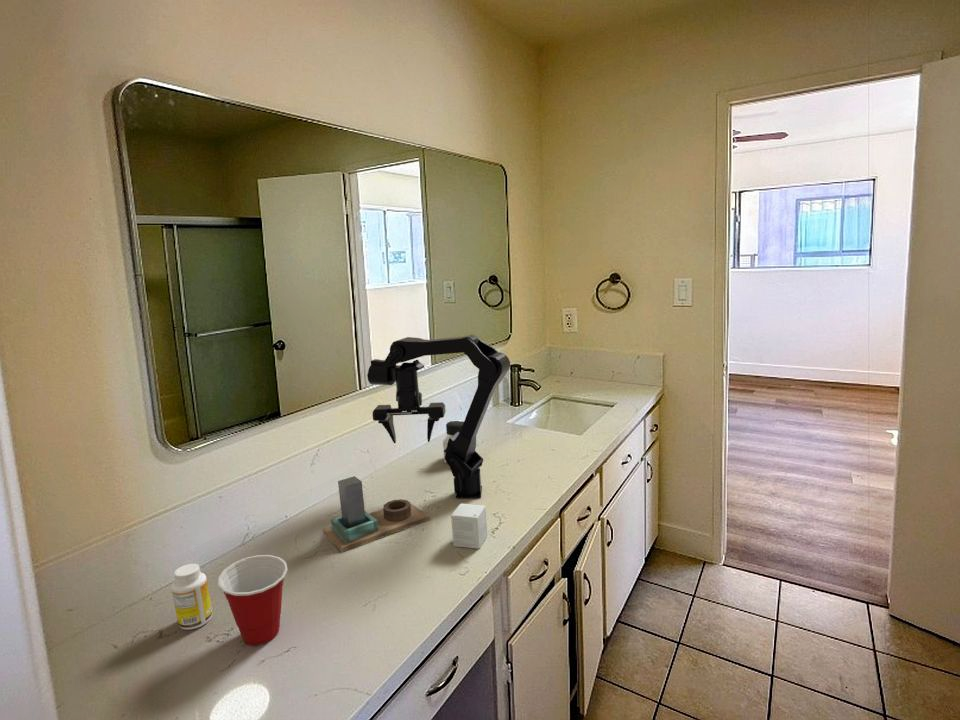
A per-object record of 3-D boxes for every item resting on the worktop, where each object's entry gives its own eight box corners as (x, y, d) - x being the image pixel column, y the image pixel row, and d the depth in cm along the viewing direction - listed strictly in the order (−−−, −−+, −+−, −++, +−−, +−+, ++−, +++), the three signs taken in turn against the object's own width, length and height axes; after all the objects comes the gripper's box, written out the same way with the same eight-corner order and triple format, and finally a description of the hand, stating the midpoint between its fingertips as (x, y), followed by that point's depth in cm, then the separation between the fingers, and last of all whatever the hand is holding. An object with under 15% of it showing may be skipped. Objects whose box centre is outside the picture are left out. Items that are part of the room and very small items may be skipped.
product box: (488, 535, 124) (486, 505, 122) (479, 550, 118) (477, 518, 117) (462, 532, 126) (460, 502, 124) (452, 546, 120) (450, 515, 119)
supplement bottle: (204, 607, 103) (196, 557, 102) (218, 618, 100) (210, 567, 98) (173, 623, 99) (163, 571, 97) (186, 636, 96) (176, 582, 94)
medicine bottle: (467, 463, 167) (464, 425, 164) (444, 463, 168) (441, 425, 166) (472, 455, 174) (469, 418, 171) (449, 454, 175) (447, 418, 173)
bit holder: (407, 504, 142) (406, 491, 141) (429, 519, 133) (428, 505, 132) (323, 533, 129) (322, 519, 128) (342, 552, 120) (340, 537, 120)
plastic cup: (255, 666, 88) (244, 597, 85) (214, 644, 93) (203, 579, 91) (309, 625, 97) (300, 563, 94) (268, 607, 102) (260, 548, 100)
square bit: (359, 524, 130) (354, 476, 128) (366, 530, 127) (361, 481, 125) (343, 529, 128) (337, 481, 126) (350, 536, 125) (344, 486, 123)
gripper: (445, 377, 154) (449, 431, 157) (379, 380, 155) (384, 433, 158) (441, 387, 143) (445, 444, 146) (369, 390, 144) (375, 447, 147)
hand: (411, 442), depth 149 cm, fingers open, 9 cm apart
